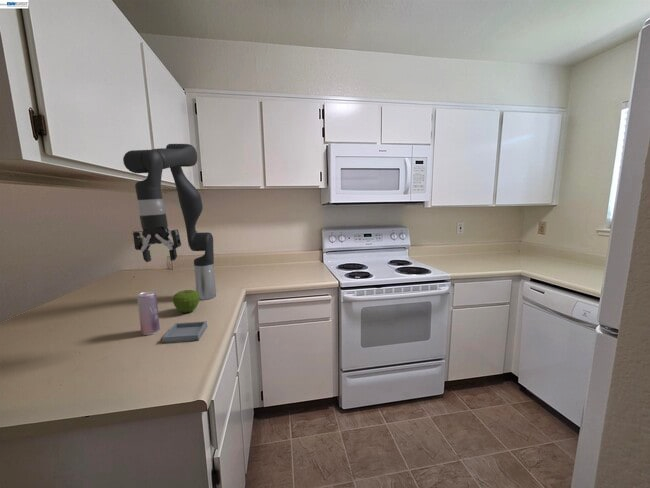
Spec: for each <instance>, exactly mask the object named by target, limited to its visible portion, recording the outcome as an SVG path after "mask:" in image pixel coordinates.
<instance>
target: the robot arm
mask: <svg viewBox="0 0 650 488" xmlns="http://www.w3.org/2000/svg"><path fill="white" fill-rule="evenodd" d="M122 161H123V165H124V167H125V168H126V170H128V171H129V172H131V173H133V174H147V176H146V178H145V179H143V180H140V181H137V182H136V183H135V185H134V188H135V194H136V198H137V208H138V209H137V210H138V215H139V220H140V225H141V226H140V227H141V229H142V231H140V230H138V231H134V232H133V234H132V235H133V243H134V249H135V250H136V251H138V250H139V251H141V252H142V258H143V260H144V261H145V262H146V263H149V262H151V261H152V255H151V252H150V251H151V250H149V249H150V247H151V246H152V245H155V244H158V245H160V244H163V246H166V248H167V249H169V251H168V253H169V258H170V261H171V262H172V261H175V260H176V259H177V258H178V253H177V248H179V247H181V246H182V242H181V238H180V233H179V230H178V229H176V228H175V229H173V230H169V228H168V225H169V223H168V219H167V211H166V207H165V203H164V199H163V193H162V175H163V171H164V170H166V169H170V172H171V175H172V178H173V181H174V184H175V189H176V192H177V197H178V201H179V205H180V210H181V213H182V216H183V221H184V225H185V231H186V236H187V237H186V238H187V243H188V246H189V249H190V250H191V251H193V252H204V254H203V255H201V256H199V257H196V258H195V259H194V260H193V267H194V268H193V269H194V271H193V272H194V283H195V291H197V292H198V293H199V295H200V299H199V301H200V300H203V301H205V300H206V301H207V300H211V299H214V298H215V297H217V292H216V291H217V289H216V275H215V259H214V258H215V257H214V256H215V253H214V236H213V234H212V233H211V232H197V230H196V229H197V228H196V225H197V222H198V220H199V218H200V216H201V214H202V213H203V209H204V208H203V201H202V196H201V193H200V192H199V191H198V189H197V188H196V187H195V185H194V184H193V183H192V182H191V181H190V180H189V179H188V178H187V176H186V175H185V173H184V171H183V168H184V167H185V168H186V167H187V168H188V167H194V166H195V165H197V162H198V152H197V150H196V147H194V145H192V144H189V143H168V144H167V145H166V147H165V148H163V147H161V148H152V149H139V150H138V149H136V150H135V149H134V150H128V151H127V152H125V154H124V155H123V159H122ZM182 167H183V168H182ZM170 237H171V238H172V239H171V238H170ZM143 238H144V239H145V240H144V241H143Z"/></svg>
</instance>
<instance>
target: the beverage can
mask: <svg viewBox="0 0 650 488" xmlns="http://www.w3.org/2000/svg"><path fill="white" fill-rule="evenodd" d="M157 297H158V296H157V293H156V291H151V290H150V291H144V292H141V293H140V292H139V293H138V294H137V298H136V300H137V308H138V314H139V315H138V316H139V317H138V318H139V326H140V333H141V334H142V335H143V336H151V335H150V334H152V335H155V334H156V332H157V333H158V332H159V331H160V318H159V308H158V300H157V299H158V298H157ZM154 333H155V334H154Z"/></svg>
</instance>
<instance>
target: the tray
mask: <svg viewBox="0 0 650 488" xmlns="http://www.w3.org/2000/svg"><path fill="white" fill-rule="evenodd" d="M207 328H208V321H206V320H203V321H189V322H175V323H174V324H173V325H172V326H171V327H170V329H168V331H167V332H166V333H165V334H164V335H163V336H162V338H161V339H162V343H163V344H171V342H173V343H182V342H183V343H184V342H196V341H200V339H201V337H202V336H203V334H204V332H205V331H206V329H207Z"/></svg>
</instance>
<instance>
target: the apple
mask: <svg viewBox="0 0 650 488" xmlns="http://www.w3.org/2000/svg"><path fill="white" fill-rule="evenodd" d="M199 299H200V295H199V293H198V292H197V291H196V290H194V289H185V290H181V291H177V292H176V293H175V294H174V295H173V298H172V303H173V306H174V307H175V308H176V310H177V311H178V312H181V313H191V312H193V311H195V309H197V307H198V305H199V302H200V300H199Z"/></svg>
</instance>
